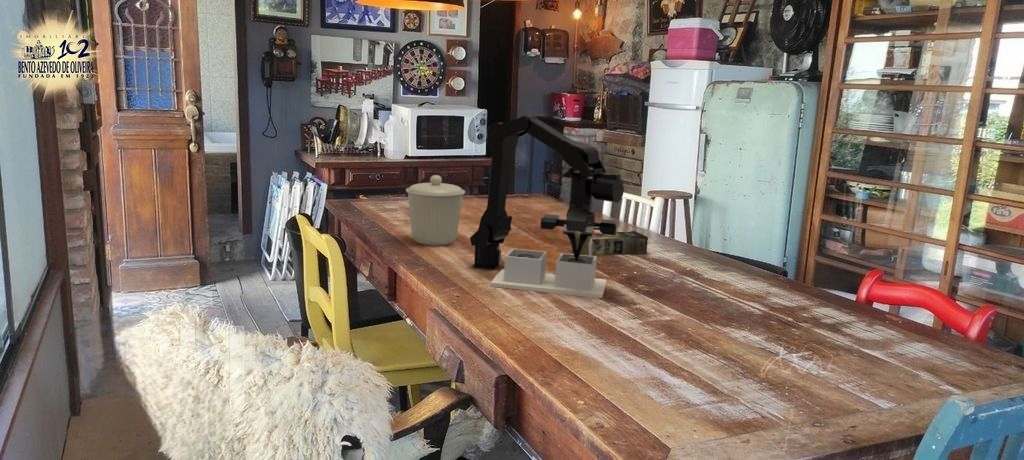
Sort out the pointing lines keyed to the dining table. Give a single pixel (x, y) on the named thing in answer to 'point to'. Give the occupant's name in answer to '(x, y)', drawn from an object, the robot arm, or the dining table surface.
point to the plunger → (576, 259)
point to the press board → (550, 275)
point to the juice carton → (618, 243)
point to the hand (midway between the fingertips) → (576, 258)
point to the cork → (585, 247)
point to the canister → (434, 211)
